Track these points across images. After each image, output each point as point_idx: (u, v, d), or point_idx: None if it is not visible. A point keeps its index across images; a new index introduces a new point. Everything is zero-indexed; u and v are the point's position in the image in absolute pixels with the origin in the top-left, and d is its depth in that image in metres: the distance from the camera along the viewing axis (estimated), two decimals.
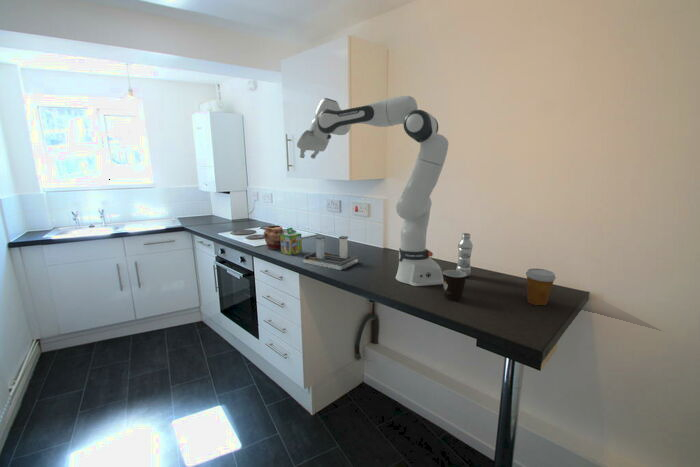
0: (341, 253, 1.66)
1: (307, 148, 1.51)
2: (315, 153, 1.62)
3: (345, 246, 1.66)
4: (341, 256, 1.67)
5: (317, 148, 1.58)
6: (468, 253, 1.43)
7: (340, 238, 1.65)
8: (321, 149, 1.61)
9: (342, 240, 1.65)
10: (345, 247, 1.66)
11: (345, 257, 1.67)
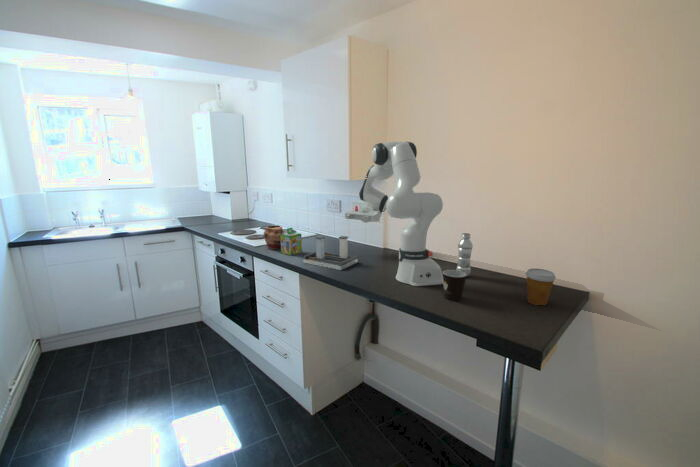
0: (341, 253, 1.66)
1: (351, 212, 1.81)
2: None
3: (345, 246, 1.66)
4: (341, 256, 1.67)
5: (364, 213, 1.77)
6: (468, 253, 1.43)
7: (340, 238, 1.65)
8: (370, 214, 1.75)
9: (342, 240, 1.65)
10: (345, 247, 1.66)
11: (345, 257, 1.67)
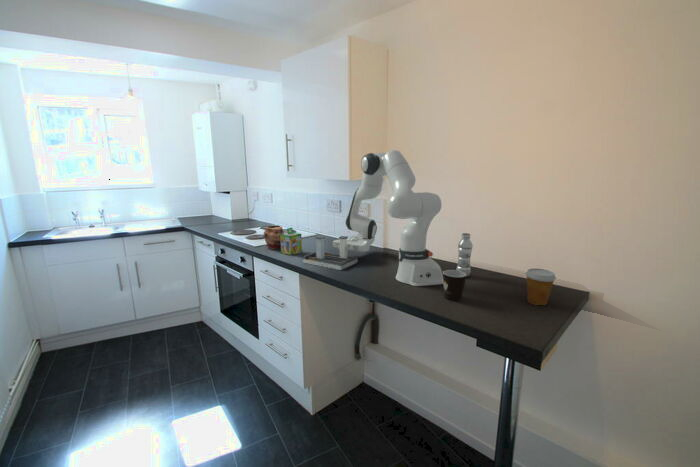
0: (341, 253, 1.66)
1: (339, 241, 1.73)
2: None
3: (345, 246, 1.66)
4: (341, 256, 1.67)
5: (352, 243, 1.70)
6: (468, 253, 1.43)
7: (340, 238, 1.65)
8: (359, 244, 1.67)
9: (342, 240, 1.65)
10: None
11: (345, 257, 1.67)
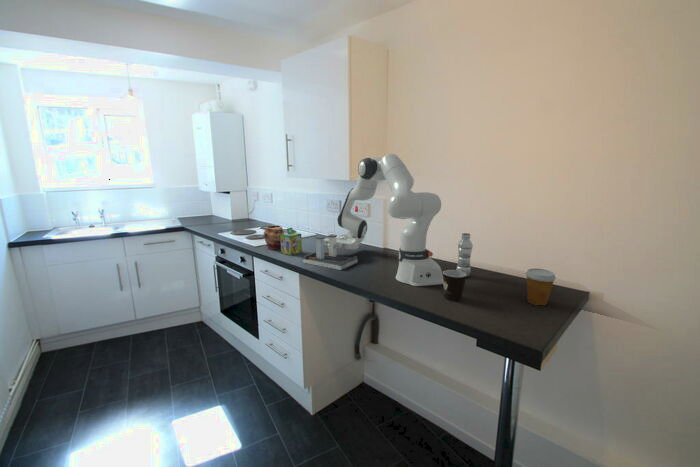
0: (330, 251, 1.70)
1: None
2: None
3: (334, 244, 1.70)
4: (330, 254, 1.70)
5: (341, 241, 1.73)
6: (468, 253, 1.43)
7: (329, 236, 1.69)
8: (348, 242, 1.71)
9: (331, 238, 1.68)
10: None
11: (334, 255, 1.71)
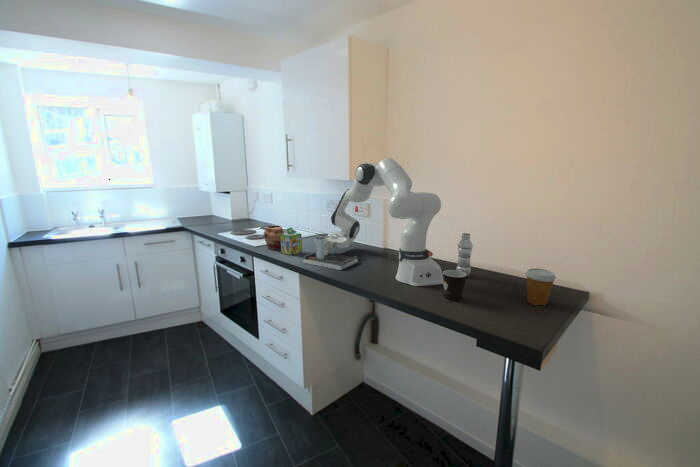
0: None
1: None
2: None
3: (325, 243, 1.73)
4: None
5: (333, 240, 1.76)
6: (468, 253, 1.43)
7: (320, 235, 1.72)
8: (339, 241, 1.74)
9: None
10: None
11: (325, 253, 1.74)
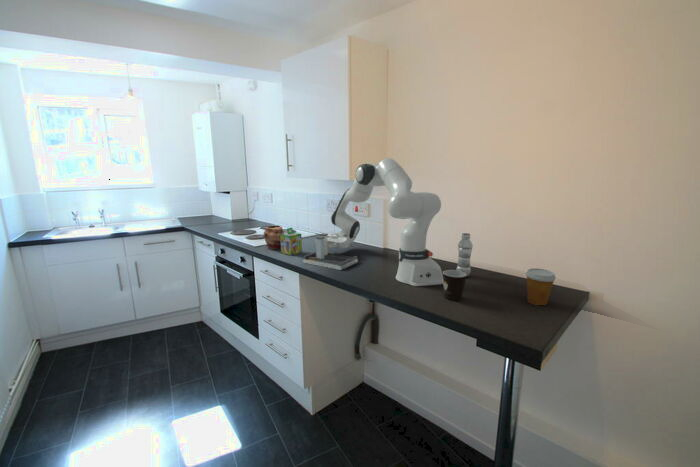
0: None
1: None
2: None
3: (325, 243, 1.73)
4: None
5: (333, 240, 1.77)
6: (468, 253, 1.43)
7: (320, 235, 1.72)
8: (339, 241, 1.74)
9: None
10: (325, 244, 1.73)
11: (325, 253, 1.74)
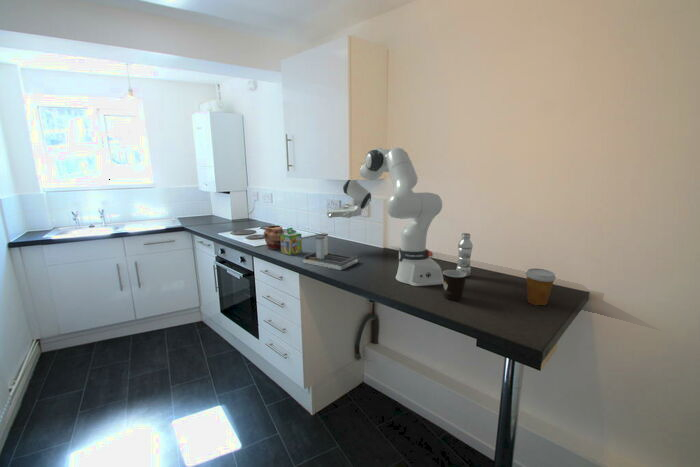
0: None
1: (332, 211, 1.86)
2: None
3: (325, 243, 1.73)
4: None
5: (345, 210, 1.82)
6: (468, 253, 1.43)
7: (320, 235, 1.72)
8: (351, 210, 1.80)
9: None
10: (325, 244, 1.73)
11: (325, 253, 1.74)
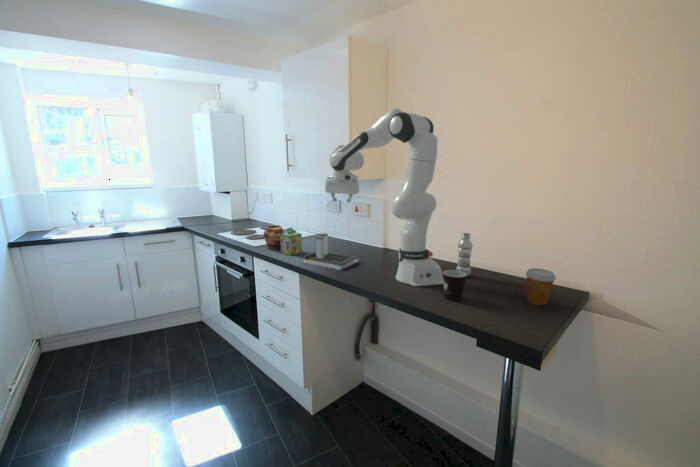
0: None
1: (331, 191, 1.75)
2: None
3: (325, 243, 1.73)
4: None
5: (343, 190, 1.70)
6: (468, 253, 1.43)
7: (320, 235, 1.72)
8: (350, 191, 1.68)
9: None
10: (325, 244, 1.73)
11: (325, 253, 1.74)
